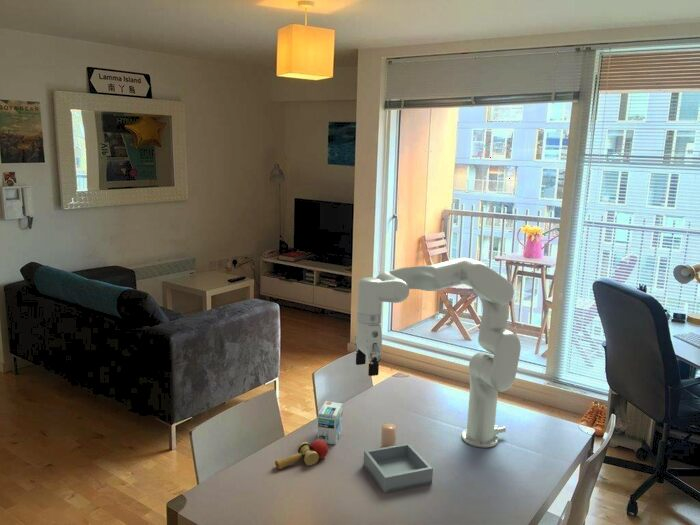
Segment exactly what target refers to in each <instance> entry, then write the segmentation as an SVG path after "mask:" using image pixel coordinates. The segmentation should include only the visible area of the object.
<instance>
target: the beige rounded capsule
mask: <svg viewBox="0 0 700 525" xmlns="http://www.w3.org/2000/svg"><path fill="white" fill-rule="evenodd" d="M380 433H381V434H380V436H381V438H380V439H381V440H380V448H384V447H390V446H396V445H397V425H396V424H393V423H384V424H382V425H381V432H380Z"/></svg>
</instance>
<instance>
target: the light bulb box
mask: <svg viewBox="0 0 700 525" xmlns="http://www.w3.org/2000/svg"><path fill="white" fill-rule="evenodd" d="M343 407H344V403H339V402H332V401H327V400H326V401H324V403H323V404H322V405H321V408H320V409H319V411H318V414H317V417H318V418H317V440H323V441H324V442H326V444H327V445H328V444H329V445H336V444H337V443H338V441H339V438H340V436H341V434H342V432H343V413H344V412H343V409H344V408H343Z"/></svg>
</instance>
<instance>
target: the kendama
mask: <svg viewBox="0 0 700 525" xmlns="http://www.w3.org/2000/svg"><path fill="white" fill-rule="evenodd" d="M296 451H297V453H296V454H293V455H289V456H286V457H283V458H280V459H276V460H275V461H274V464H275V467H277V468H278V469H280V470H282V469H284V468H286V467H287V466H289V465H292V464H293V463H296V462H297V461H300V460H301V459H302V458H303V462H304V464H305V465H306V466H308V465H310V466H312V465H311V464H314V465H315V464H317V462H319V460H321V459H324V458H325V457H326V456H327V455H328V452H329V447H328V443H326V442H324V441H323V440H318V439H316V440H314V441H313V442H312V443H311V444H310V443H308V441H303V442H301V443H299V445H298V446H297V449H296ZM277 468H276V469H277ZM278 469H277V470H278Z"/></svg>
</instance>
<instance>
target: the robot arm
mask: <svg viewBox="0 0 700 525" xmlns="http://www.w3.org/2000/svg"><path fill="white" fill-rule="evenodd" d="M459 285H465V286H469V287H470V288H471V289H472V291H473V293H474V295H475V294H476V296H478V298H479V299H480V301H481V305H482V306H481V307H482V316H481V320H480V327H479V333H478V338H477V339H478V340H477V342H478V344H479V346H480V347H481V348H482V349H483V350H485V351H487V352H483V351H482V352H481V351H480V352H476V353H475V354H474V355H473V356H472V357H471V358H470V360H469V364H468V373H469V397H468V408H467V420H466V421H467V423H466V429H464V430H463V431H462V432H461V439H462V440H463V441H464V443H466V444H468V445H470V446H472V447H476V448H477V447H478V448H492V447H495V446H496V445H497V444H498V443H499V437H498V435H499V434H502V433H506V432H507V431H506V430H507V429H506V427H505V426H500V427H499V425H497V424H496V418H497V417H496V416H497V403H498V393H499V392H507V390H509V389H510V388H511V387H512V386H513V384H514V382H515V380H516V375H517V371H518V370H517V369H518V366H519V360H520V356H521V341H520V338H519V337H518V336H517V335H516V333H514V332H513V331H511V330H508V328H507V325H508V318H509V317H508V316H509V303H510V302H511V301H512V299H513V297H514V294H515V290H514V287H513V286H514V285H513V284H512V283H511V282H510V281H509V279H506V278H505V277H504V276H502V275H501V274H500V273H498V272H497V271H495V270H494V269H492V268H491V267H490V266H488V265H487V264H485V263H483V262H482V261H480V260H476V259H473V258H470V257H458V258H454V259H450V260H446V261H445V260H444V261H442V262H439V263H437V262H436V263H434V264H429V265H418V266H409V267H408V266H407V267H401V268H400V267H399V268H394V269H391V270H387V271H383V272H382V273H379V274H378V275H377V276H376V277H372V276H371V277H370V276H369V277H362V278H360V279H359V281H358V285H357V287H358V289H357V305H356V306H357V312H356V323H357V326H356V335H355V344H354V345H355V346H356V347H355V364H356V365H357V366H359V365H366V361H367V360H366V359H367V357H368V360H369V363H368V371H367V372H368V373H367V374H368V376H369V377H375V376H379V369H380V368H379V367H380V362H381V360H382V359H381V358H382V352H383V349H382V347H383V345H382V344H383V341H382V340H383V337H382V326H381V324H382V308H383V307H382V305H383V303H384V302H385V303H393V304H398V303H402V302H404V301H405V300H407V299H408V297H409V295H410V290H421V291H424V292H425V291H426V292H438V291H442V290H445V289H449V288H452V287H456V286H459ZM488 352H489V353H488ZM366 356H367V357H366Z"/></svg>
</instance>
